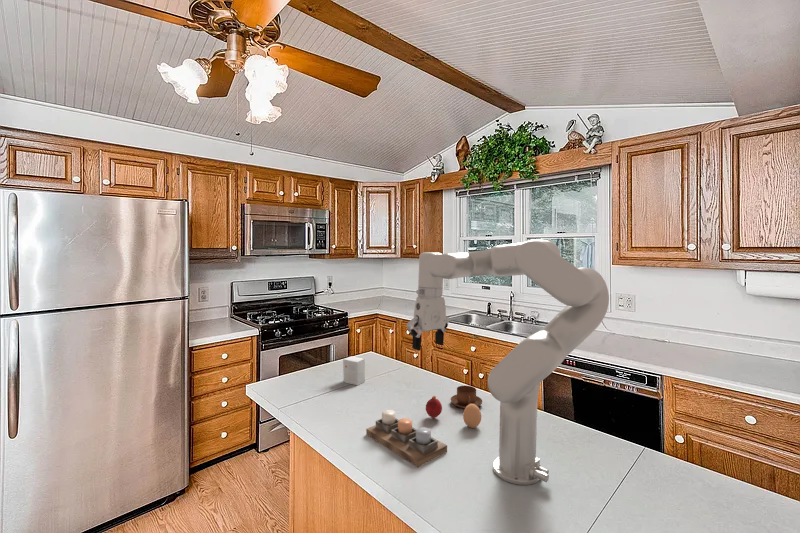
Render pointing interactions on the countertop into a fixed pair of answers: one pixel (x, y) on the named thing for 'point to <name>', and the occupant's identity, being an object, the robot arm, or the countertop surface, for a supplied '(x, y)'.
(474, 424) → the egg
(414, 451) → the button board
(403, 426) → the terracotta button
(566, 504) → the countertop surface
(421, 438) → the grey button
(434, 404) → the red fruit
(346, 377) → the small box
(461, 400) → the cup and saucer
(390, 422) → the cream button
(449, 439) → the countertop surface
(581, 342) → the robot arm
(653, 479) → the countertop surface
